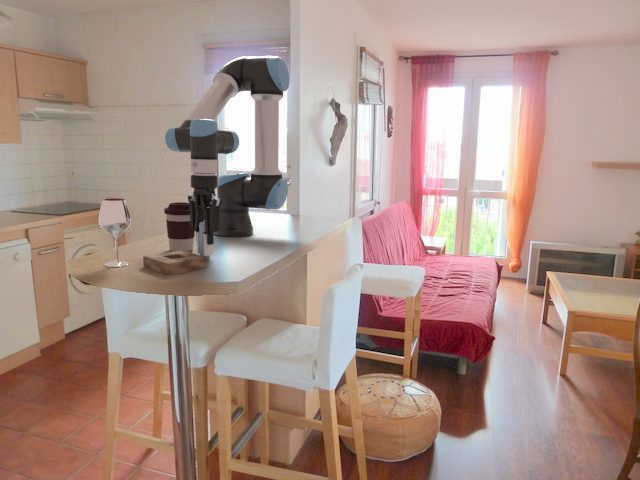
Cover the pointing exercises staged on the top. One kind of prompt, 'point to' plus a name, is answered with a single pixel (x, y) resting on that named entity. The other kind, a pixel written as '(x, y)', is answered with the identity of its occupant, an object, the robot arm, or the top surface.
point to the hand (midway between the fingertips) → (204, 253)
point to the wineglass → (114, 223)
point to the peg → (202, 239)
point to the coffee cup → (179, 227)
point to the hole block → (175, 262)
